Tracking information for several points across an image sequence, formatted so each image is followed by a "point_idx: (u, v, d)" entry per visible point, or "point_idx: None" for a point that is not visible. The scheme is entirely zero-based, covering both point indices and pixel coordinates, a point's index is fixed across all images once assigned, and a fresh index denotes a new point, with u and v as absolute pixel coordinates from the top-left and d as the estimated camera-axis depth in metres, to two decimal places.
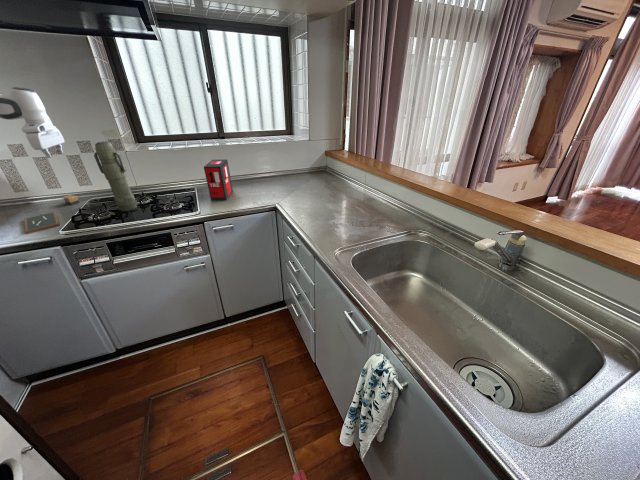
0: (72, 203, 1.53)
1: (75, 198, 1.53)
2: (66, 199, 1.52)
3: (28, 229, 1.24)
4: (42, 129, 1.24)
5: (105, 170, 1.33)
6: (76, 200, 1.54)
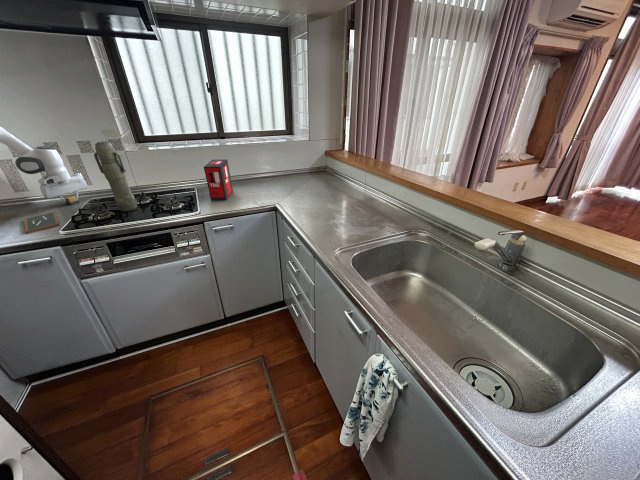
0: (72, 203, 1.53)
1: (75, 198, 1.53)
2: None
3: (28, 229, 1.24)
4: (50, 182, 1.42)
5: (105, 170, 1.33)
6: (76, 200, 1.54)
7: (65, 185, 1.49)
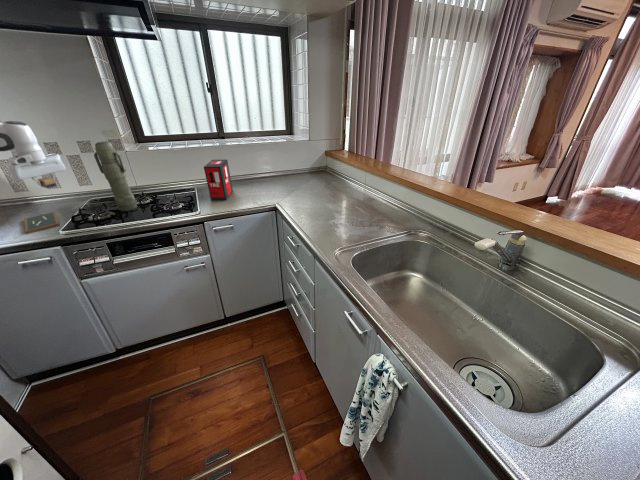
0: (48, 186, 1.39)
1: (51, 181, 1.40)
2: None
3: (28, 229, 1.24)
4: (21, 161, 1.28)
5: (105, 170, 1.33)
6: (52, 183, 1.40)
7: (39, 166, 1.35)
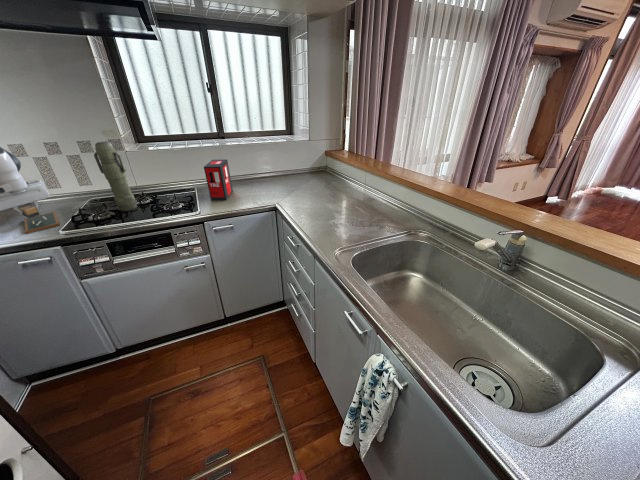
0: (30, 216, 1.29)
1: (34, 210, 1.30)
2: None
3: (28, 229, 1.24)
4: None
5: (105, 170, 1.33)
6: (35, 212, 1.30)
7: (20, 195, 1.26)
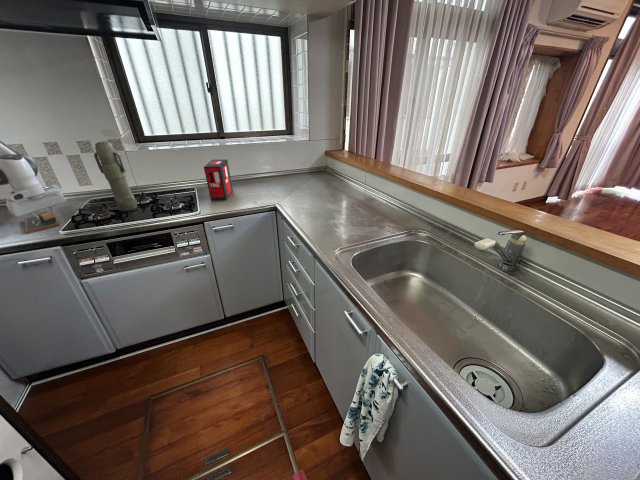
0: (47, 221, 1.30)
1: (51, 215, 1.31)
2: None
3: (28, 229, 1.24)
4: (18, 197, 1.19)
5: (105, 170, 1.33)
6: (52, 217, 1.31)
7: (38, 200, 1.26)
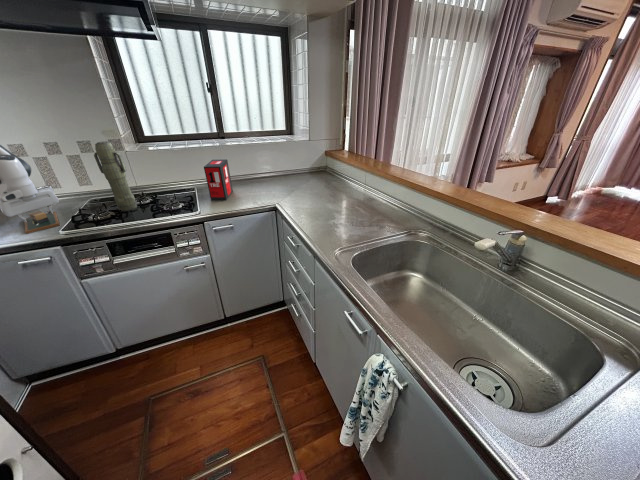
0: (39, 221, 1.30)
1: (43, 215, 1.30)
2: (32, 216, 1.29)
3: (28, 229, 1.24)
4: (10, 197, 1.19)
5: (105, 170, 1.33)
6: (45, 217, 1.31)
7: (31, 200, 1.26)
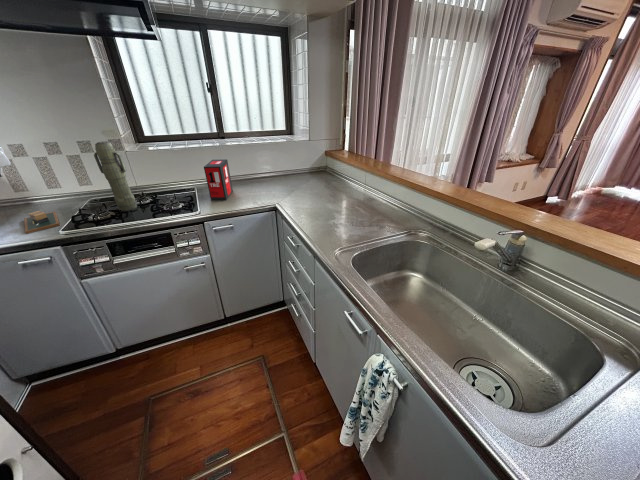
0: (39, 221, 1.30)
1: (43, 215, 1.30)
2: (32, 216, 1.29)
3: (28, 229, 1.24)
4: None
5: (105, 170, 1.33)
6: (45, 217, 1.31)
7: None
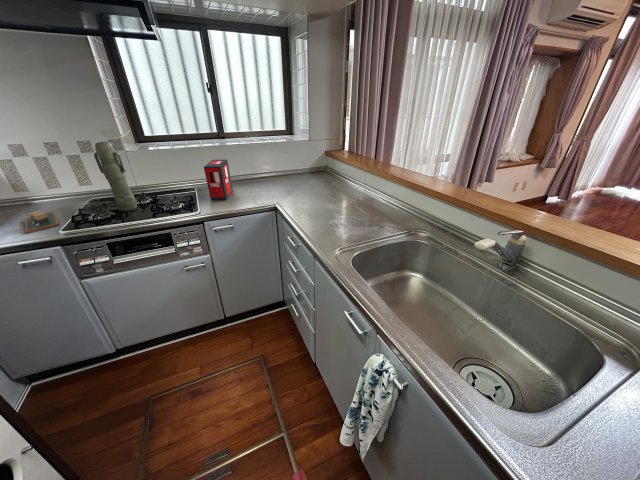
0: (39, 221, 1.30)
1: (43, 215, 1.30)
2: (32, 216, 1.29)
3: (28, 229, 1.24)
4: None
5: (105, 170, 1.33)
6: (45, 217, 1.31)
7: None
